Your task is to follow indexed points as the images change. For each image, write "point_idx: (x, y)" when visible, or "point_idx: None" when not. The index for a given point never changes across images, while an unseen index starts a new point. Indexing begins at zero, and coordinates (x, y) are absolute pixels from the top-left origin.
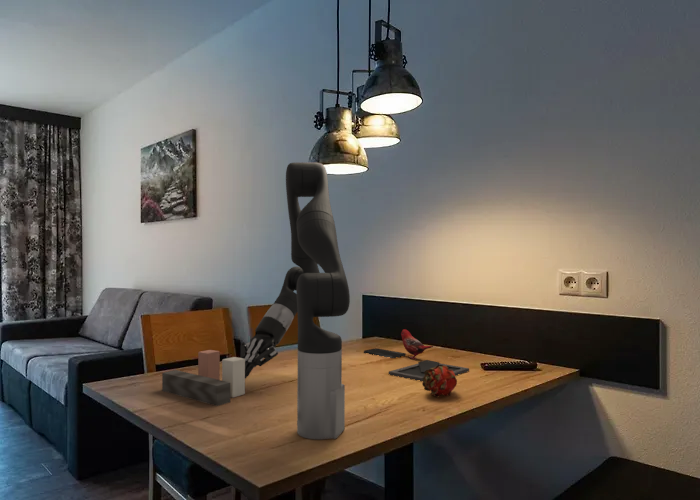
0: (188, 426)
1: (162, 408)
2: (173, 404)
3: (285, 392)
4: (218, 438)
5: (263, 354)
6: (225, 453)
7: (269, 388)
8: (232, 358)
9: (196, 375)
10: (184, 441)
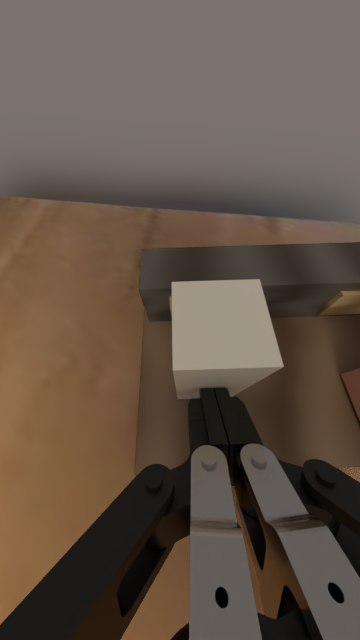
0: (129, 228)
1: None
2: None
3: None
4: (47, 227)
5: (81, 566)
6: (5, 208)
7: None
8: (241, 325)
9: (311, 278)
10: (85, 202)
